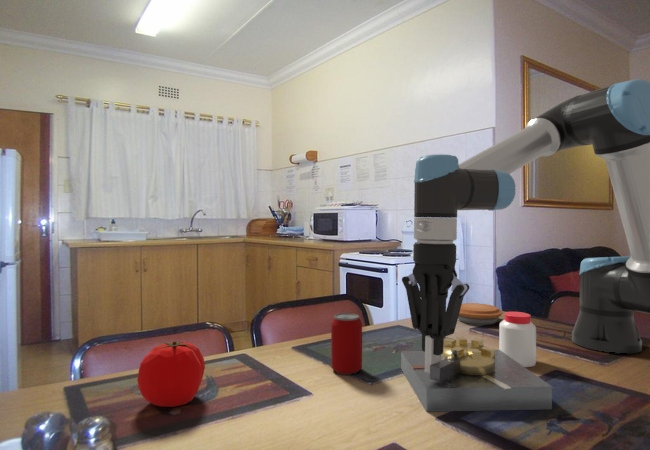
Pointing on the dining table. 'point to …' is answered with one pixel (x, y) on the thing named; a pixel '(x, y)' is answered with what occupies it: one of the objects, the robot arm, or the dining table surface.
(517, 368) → the housing
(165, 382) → the tomato
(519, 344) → the pill bottle
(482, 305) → the pie
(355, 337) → the beverage can
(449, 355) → the studded gold disc
